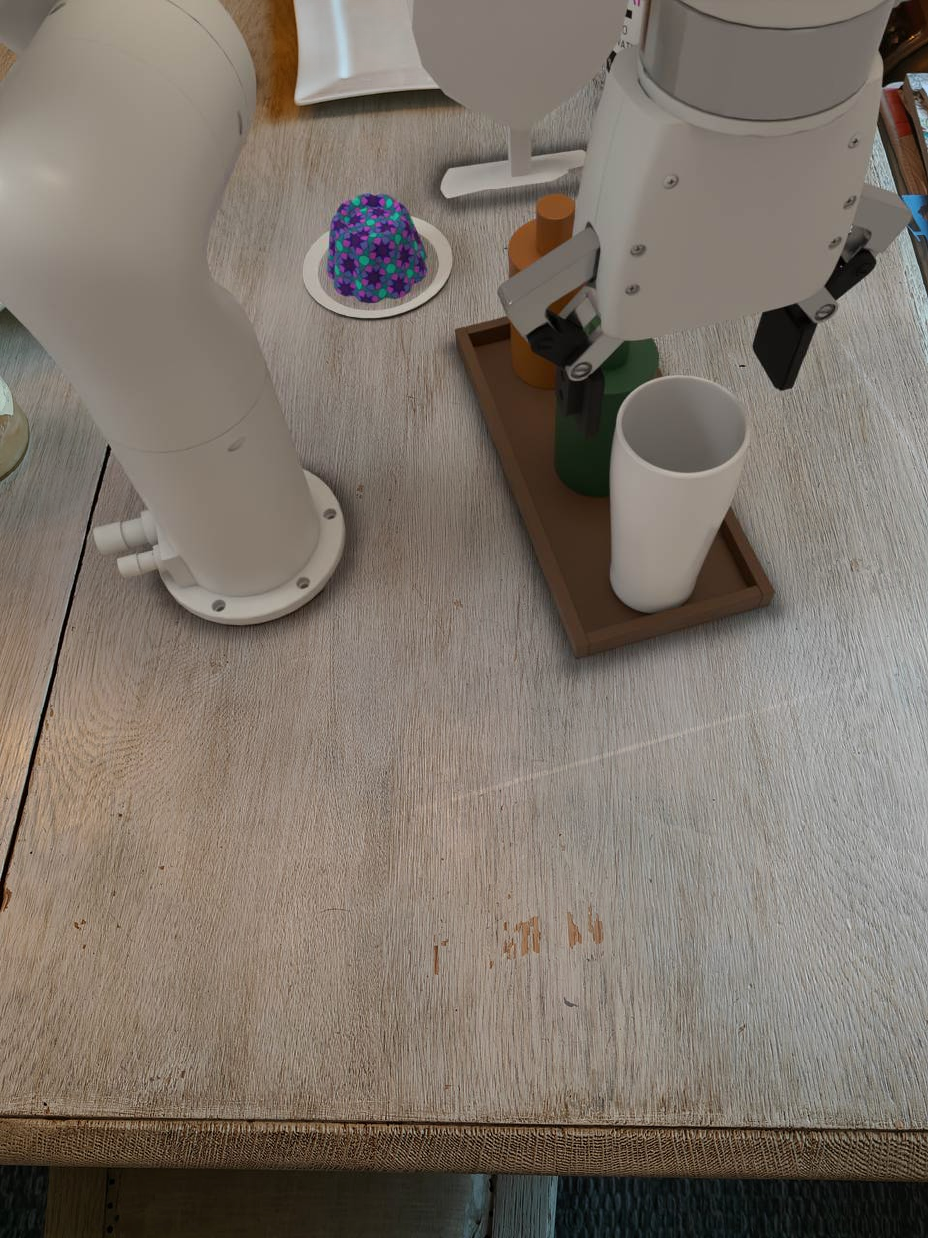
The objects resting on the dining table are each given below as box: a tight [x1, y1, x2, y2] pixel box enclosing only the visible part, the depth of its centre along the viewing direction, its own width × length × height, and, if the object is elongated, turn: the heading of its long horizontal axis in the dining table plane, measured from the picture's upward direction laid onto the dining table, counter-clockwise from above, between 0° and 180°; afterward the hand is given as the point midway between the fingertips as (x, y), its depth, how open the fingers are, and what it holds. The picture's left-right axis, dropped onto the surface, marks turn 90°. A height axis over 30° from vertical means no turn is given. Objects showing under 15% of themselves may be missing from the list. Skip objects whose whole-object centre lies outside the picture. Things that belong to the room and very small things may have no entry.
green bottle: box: [554, 315, 660, 497], centre depth 60 cm, size 6×6×13 cm
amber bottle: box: [507, 193, 589, 389], centre depth 64 cm, size 6×6×13 cm
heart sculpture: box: [406, 0, 629, 200], centre depth 73 cm, size 16×5×18 cm, turn 97°
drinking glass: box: [609, 374, 752, 614], centre depth 54 cm, size 7×7×15 cm
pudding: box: [302, 193, 454, 319], centre depth 74 cm, size 12×12×5 cm
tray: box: [454, 315, 776, 660], centre depth 65 cm, size 13×28×2 cm, turn 16°
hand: (676, 392), depth 45 cm, fingers open, 9 cm apart
